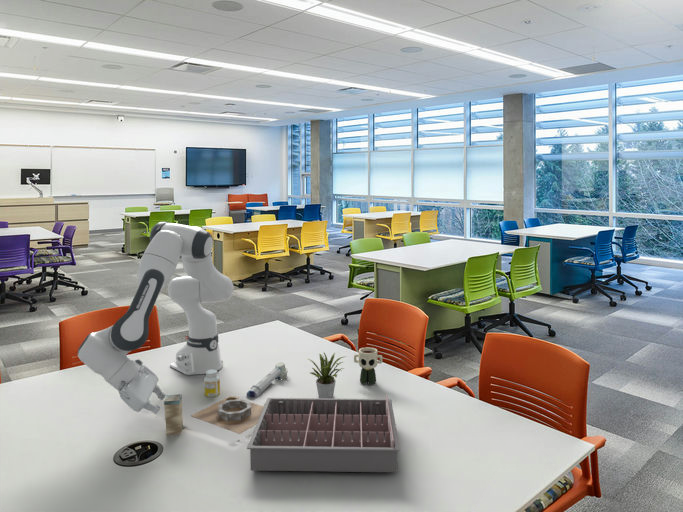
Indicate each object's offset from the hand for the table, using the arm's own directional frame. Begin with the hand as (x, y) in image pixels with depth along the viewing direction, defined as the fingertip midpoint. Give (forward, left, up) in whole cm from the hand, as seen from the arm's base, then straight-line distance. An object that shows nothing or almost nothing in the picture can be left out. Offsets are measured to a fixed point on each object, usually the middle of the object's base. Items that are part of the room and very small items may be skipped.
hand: (161, 404), depth 155 cm
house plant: (+30, +48, -9) cm, 58 cm away
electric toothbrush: (+5, +44, -10) cm, 45 cm away
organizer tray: (+48, +20, -9) cm, 53 cm away
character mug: (+35, +67, -9) cm, 76 cm away
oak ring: (+5, +25, -8) cm, 27 cm away
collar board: (+12, +19, -9) cm, 24 cm away
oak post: (+3, +2, -9) cm, 10 cm away
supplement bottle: (-6, +26, -9) cm, 29 cm away
